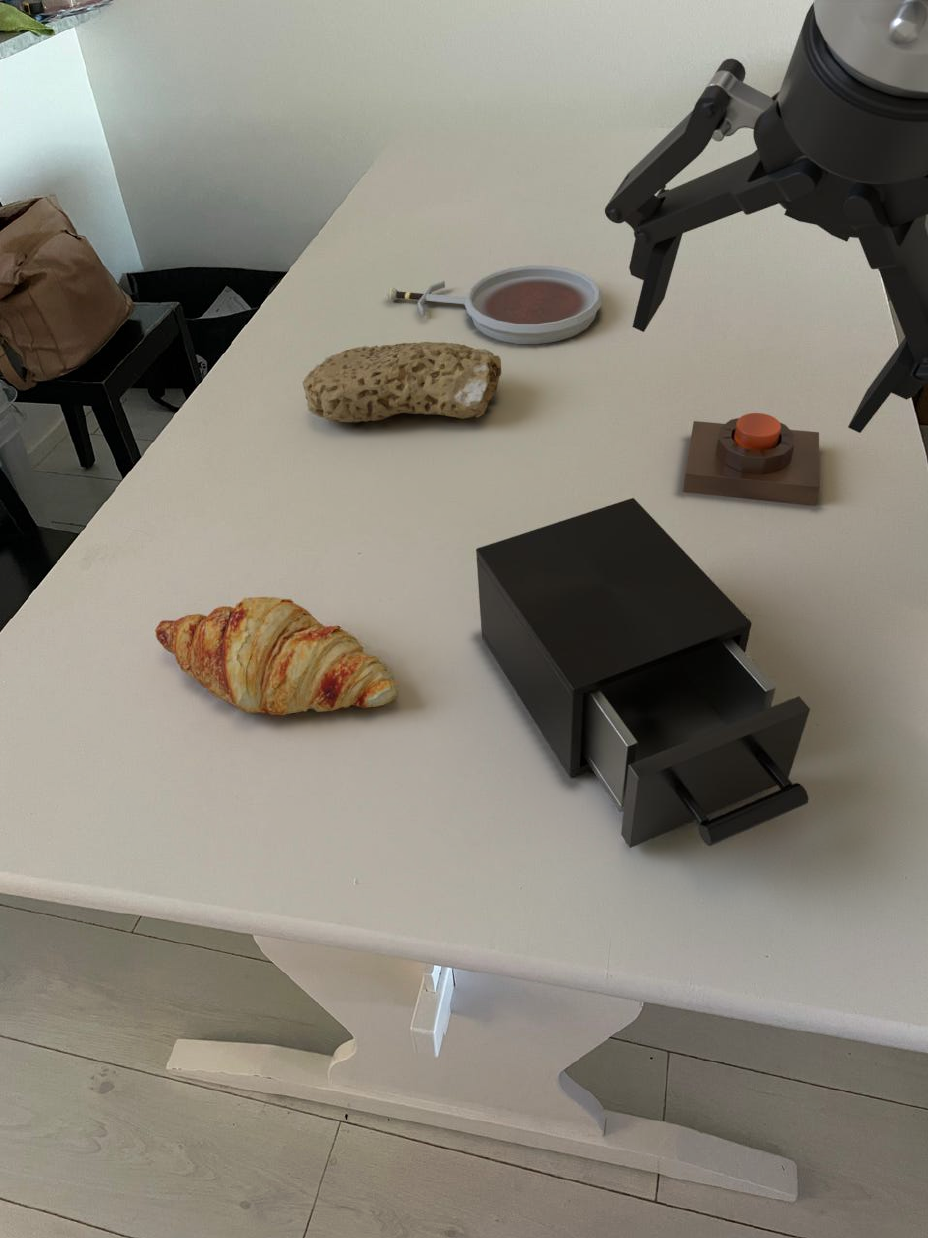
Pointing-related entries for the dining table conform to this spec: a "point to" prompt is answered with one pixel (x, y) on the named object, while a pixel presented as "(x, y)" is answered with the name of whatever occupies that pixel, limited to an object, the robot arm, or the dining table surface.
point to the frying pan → (524, 303)
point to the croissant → (276, 659)
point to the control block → (753, 465)
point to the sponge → (403, 382)
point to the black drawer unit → (594, 612)
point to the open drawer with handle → (694, 745)
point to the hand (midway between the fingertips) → (753, 361)
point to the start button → (757, 431)
